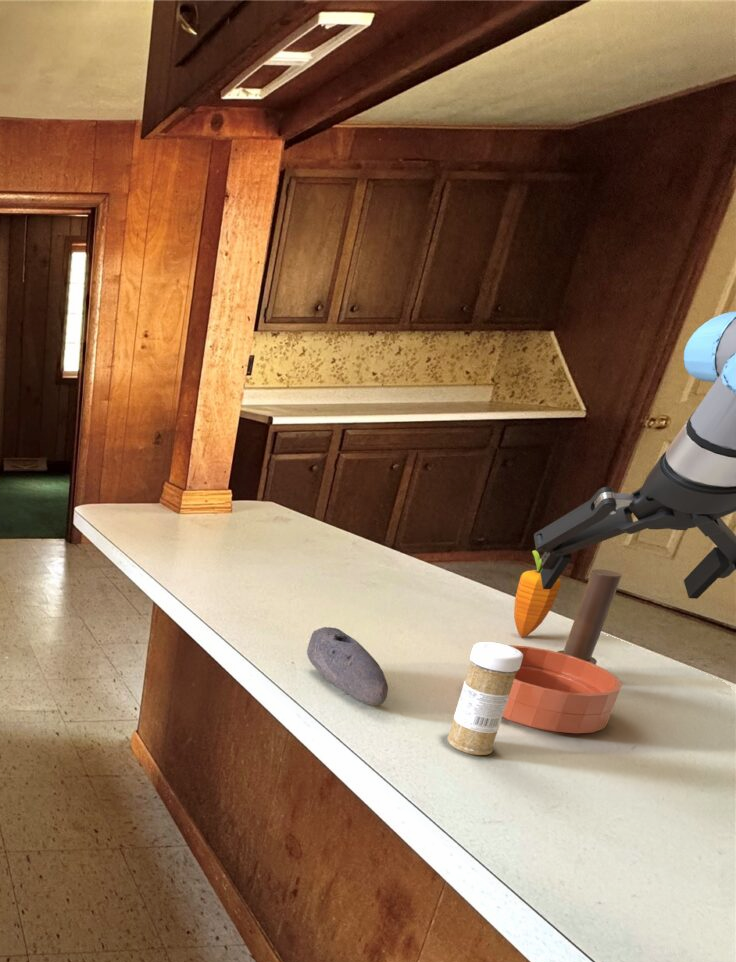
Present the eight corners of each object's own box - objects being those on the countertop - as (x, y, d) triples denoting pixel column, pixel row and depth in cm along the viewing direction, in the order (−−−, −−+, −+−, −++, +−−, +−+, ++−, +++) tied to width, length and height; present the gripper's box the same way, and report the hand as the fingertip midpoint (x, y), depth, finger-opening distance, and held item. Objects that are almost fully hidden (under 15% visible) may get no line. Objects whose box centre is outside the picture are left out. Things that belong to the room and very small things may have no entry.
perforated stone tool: (397, 715, 89) (409, 669, 86) (358, 716, 89) (369, 670, 86) (334, 664, 103) (342, 623, 100) (300, 665, 103) (308, 624, 100)
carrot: (495, 630, 112) (521, 545, 106) (528, 631, 111) (556, 545, 106) (515, 642, 107) (543, 555, 102) (549, 643, 107) (580, 555, 101)
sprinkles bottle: (489, 742, 82) (521, 645, 77) (493, 761, 79) (527, 660, 74) (444, 732, 85) (472, 637, 80) (446, 750, 81) (475, 652, 76)
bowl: (591, 697, 91) (606, 659, 89) (618, 749, 80) (636, 706, 78) (463, 674, 98) (473, 637, 96) (471, 718, 87) (484, 678, 85)
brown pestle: (586, 672, 98) (624, 570, 92) (593, 685, 94) (633, 580, 88) (547, 665, 100) (582, 565, 94) (552, 677, 96) (589, 575, 91)
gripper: (886, 434, 63) (748, 568, 79) (549, 439, 74) (488, 555, 90) (917, 492, 60) (766, 619, 76) (558, 488, 71) (493, 600, 87)
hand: (615, 585), depth 83 cm, fingers open, 13 cm apart
